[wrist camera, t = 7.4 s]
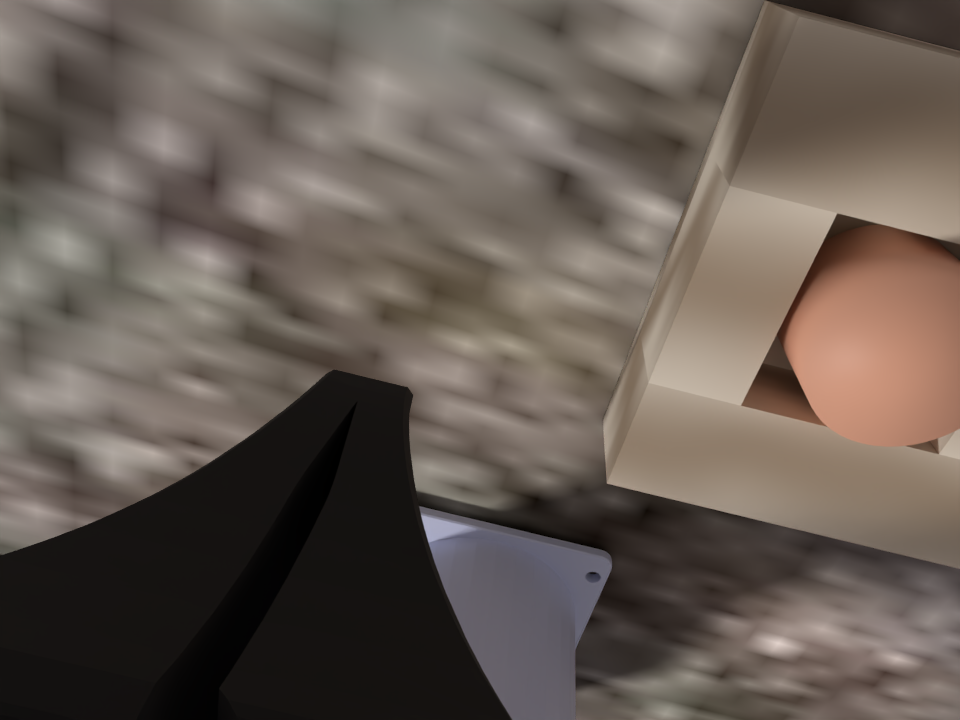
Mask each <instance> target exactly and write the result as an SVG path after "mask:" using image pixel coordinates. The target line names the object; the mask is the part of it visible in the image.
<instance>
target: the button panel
mask: <svg viewBox="0 0 960 720" xmlns="http://www.w3.org/2000/svg"><path fill="white" fill-rule="evenodd" d="M879 224H882V225H886V226H890V227H894V228H898V229H901V230H905V231H909V232H913V233H917V234H921V235H925V236H929V237H932V238H934V239H935V240H937V241H938V242H939V243H940V244H942V245H943V246H944V247H945V248H946V249H947V250H948V251H949V252H950V253H951V254H953V255H954V256H955V257H956V258H957V259H958V260H959V261H960V51H958V50H954V49H950V48H946V47H943V46H939V45H935V44H931V43H927V42H923V41H920V40H916V39H912V38H908V37H904V36H900V35H897V34H893V33H889V32H885V31H881V30H877V29H874V28H870V27H866V26H862V25H858V24H854V23H851V22H847V21H843V20H839V19H835V18H831V17H828V16H824V15H820V14H816V13H812V12H808V11H805V10H801V9H797V8H793V7H789V6H785V5H782V4H778V3H774V2H770V1H766V0H765V1H764V3H763V6H762V8H761V11H760V13H759V16H758V19H757V21H756V24H755V26H754V29H753V32H752V34H751V37H750V39H749V42H748V45H747V47H746V50H745V52H744V55H743V58H742V60H741V63H740V65H739V68H738V71H737V73H736V76H735V78H734V81H733V84H732V86H731V89H730V91H729V94H728V97H727V99H726V102H725V104H724V107H723V109H722V112H721V115H720V117H719V120H718V122H717V125H716V128H715V130H714V133H713V135H712V138H711V141H710V143H709V146H708V148H707V151H706V154H705V156H704V159H703V161H702V164H701V167H700V169H699V172H698V174H697V177H696V180H695V182H694V185H693V187H692V190H691V192H690V195H689V198H688V200H687V203H686V205H685V208H684V211H683V213H682V216H681V218H680V221H679V224H678V226H677V229H676V231H675V234H674V237H673V239H672V242H671V244H670V247H669V250H668V252H667V255H666V257H665V260H664V263H663V265H662V268H661V270H660V273H659V276H658V278H657V281H656V283H655V286H654V288H653V291H652V294H651V296H650V299H649V301H648V304H647V307H646V309H645V312H644V314H643V317H642V320H641V322H640V325H639V327H638V330H637V333H636V335H635V338H634V340H633V343H632V346H631V348H630V351H629V353H628V356H627V359H626V361H625V364H624V366H623V369H622V372H621V374H620V377H619V379H618V382H617V384H616V387H615V390H614V392H613V395H612V397H611V400H610V403H609V405H608V408H607V410H606V413H605V416H604V418H603V430H604V445H605V461H606V477H607V484H611V485H615V486H619V487H623V488H627V489H632V490H636V491H640V492H644V493H648V494H652V495H656V496H660V497H665V498H669V499H673V500H677V501H681V502H685V503H689V504H694V505H698V506H702V507H706V508H710V509H714V510H718V511H722V512H727V513H731V514H735V515H739V516H743V517H747V518H751V519H756V520H760V521H764V522H768V523H772V524H776V525H780V526H784V527H789V528H793V529H797V530H801V531H805V532H809V533H813V534H818V535H822V536H826V537H830V538H834V539H838V540H842V541H846V542H851V543H855V544H859V545H863V546H867V547H871V548H875V549H880V550H884V551H888V552H892V553H896V554H900V555H904V556H908V557H913V558H917V559H921V560H925V561H929V562H933V563H937V564H942V565H946V566H950V567H954V568H958V569H960V429H958V430H956V431H954V432H952V433H950V434H948V435H945V436H943V437H940V438H937V439H934V440H931V441H928V442H924V443H919V444H914V445H907V446H895V447H884V446H873V445H868V444H862V443H859V442H856V441H852V440H850V439H847V438H845V437H843V436H841V435H839V434H837V433H836V432H834V431H833V430H831V429H830V428H829V427H827V426H826V425H825V424H824V423H823V422H822V421H821V420H820V419H819V418H818V416H817V415H816V414H815V412H814V410H813V409H812V407H811V405H810V403H809V401H808V399H807V397H806V395H805V393H804V391H803V389H802V387H801V385H800V383H799V380H798V378H797V376H796V374H795V372H794V370H793V368H792V366H791V364H790V362H789V360H788V358H787V356H786V354H785V352H784V349H783V347H782V345H781V343H780V341H779V338H778V336H777V333H778V331H779V329H780V327H781V325H782V323H783V321H784V319H785V317H786V315H787V313H788V311H789V309H790V307H791V305H792V303H793V301H794V299H795V297H796V295H797V293H798V291H799V289H800V287H801V285H802V283H803V281H804V279H805V277H806V275H807V273H808V271H809V269H810V267H811V265H812V263H813V261H814V259H815V257H816V255H817V253H818V251H819V249H820V247H821V245H822V243H823V242H824V241H826V240H827V239H829V238H831V237H833V236H835V235H838V234H840V233H842V232H845V231H848V230H851V229H855V228H858V227H863V226H869V225H879Z"/></svg>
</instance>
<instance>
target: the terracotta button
mask: <svg viewBox="0 0 960 720" xmlns="http://www.w3.org/2000/svg"><path fill="white" fill-rule="evenodd" d="M777 336H778V338H779V341H780V343H781V345H782V347H783V349H784V352H785V354H786V356H787V358H788V360H789V362H790V364H791V366H792V368H793V370H794V372H795V374H796V376H797V378H798V380H799V383H800V385H801V387H802V389H803V391H804V393H805V395H806V397H807V399H808V401H809V403H810V405H811V407H812V409H813V410H814V412H815V414H816V415H817V416H818V418H819V419H820V420H821V421H822V422H823V423H824V424H825V425H826V426H827V427H829V428H830V429H831V430H833V431H834V432H836V433H837V434H839V435H841V436H843V437H845V438H847V439H850V440H852V441H856V442H859V443H862V444H868V445H873V446H884V447H895V446H907V445H914V444H919V443H924V442H928V441H931V440H934V439H937V438H940V437H943V436H945V435H948V434H950V433H952V432H954V431H956V430H958V429H960V261H959V260H958V259H957V258H956V257H955V256H954V255H953V254H951V253H950V252H949V251H948V250H947V249H946V248H945V247H944V246H943V245H942V244H940V243H939V242H938V241H937V240H935V239H934V238H932V237H929V236H925V235H921V234H917V233H913V232H909V231H905V230H901V229H898V228H894V227H890V226H886V225H882V224H879V225H869V226H863V227H858V228H855V229H851V230H848V231H845V232H842V233H840V234H838V235H835V236H833V237H831V238H829V239H827V240H826V241H824V242H823V243H822V245H821V247H820V249H819V251H818V253H817V255H816V257H815V259H814V261H813V263H812V265H811V267H810V269H809V271H808V273H807V275H806V277H805V279H804V281H803V283H802V285H801V287H800V289H799V291H798V293H797V295H796V297H795V299H794V301H793V303H792V305H791V307H790V309H789V311H788V313H787V315H786V317H785V319H784V321H783V323H782V325H781V327H780V329H779V331H778V333H777Z"/></svg>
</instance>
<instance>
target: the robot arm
mask: <svg viewBox="0 0 960 720" xmlns="http://www.w3.org/2000/svg"><path fill="white" fill-rule="evenodd" d="M412 398H413V394H412V393H411V391H410V390H409V388H408V387H404V386H400V385H396V384H392V383H387V382H383V381H379V380H375V379H371V378H367V377H363V376H359V375H355V374H350V373H346V372H342V371H338V370H332V371H331V372H329V373H327V374H326V375H325V376H323V377H322V378H321V379H320V380H319V381H318V382H317V383H316V384H315V385H313V386H312V387H311V388H310V389H309V390H308V391H307V392H305V393H304V394H303V395H302V396H301V397H300V398H298V399H297V400H296V401H295V402H293V403H292V404H291V405H290V406H289V407H287V408H286V409H285V410H284V411H282V412H281V413H280V414H278V415H277V416H276V417H274V418H273V419H272V420H270V421H269V422H268V423H267V424H265V425H264V426H263V427H261V428H260V429H259V430H257V431H256V432H255V433H253V434H252V435H250V436H249V437H248V438H246V439H245V440H243V441H242V442H240V443H239V444H237V445H236V446H234V447H233V448H231V449H230V450H228V451H227V452H225V453H224V454H222V455H221V456H219V457H218V458H216V459H215V460H213V461H212V462H210V463H208V464H207V465H205V466H203V467H202V468H200V469H198V470H197V471H195V472H194V473H192V474H190V475H188V476H187V477H185V478H183V479H181V480H180V481H178V482H176V483H174V484H172V485H170V486H168V487H167V488H165V489H163V490H161V491H159V492H157V493H155V494H153V495H151V496H149V497H147V498H145V499H143V500H141V501H139V502H137V503H135V504H133V505H131V506H128V507H126V508H124V509H122V510H120V511H117V512H115V513H113V514H111V515H108V516H106V517H104V518H102V519H100V520H97V521H95V522H93V523H90V524H88V525H85V526H83V527H80V528H77V529H75V530H72V531H70V532H67V533H64V534H62V535H59V536H57V537H54V538H51V539H48V540H45V541H43V542H40V543H37V544H34V545H31V546H28V547H25V548H23V549H20V550H17V551H13V552H10V553H7V554H4V555H1V556H0V720H576V685H575V649H576V647H577V645H578V642H579V640H580V638H581V636H582V634H583V631H584V629H585V627H586V625H587V623H588V620H589V618H590V616H591V614H592V612H593V609H594V607H595V605H596V603H597V601H598V598H599V596H600V594H601V592H602V590H603V587H604V585H605V583H606V581H607V579H608V576H609V574H610V572H611V570H612V559H611V556H610V555H609V554H608V553H607V552H606V551H603V550H600V549H596V548H592V547H588V546H584V545H579V544H575V543H571V542H567V541H563V540H559V539H554V538H550V537H546V536H542V535H538V534H534V533H529V532H525V531H521V530H517V529H513V528H508V527H504V526H500V525H496V524H492V523H488V522H483V521H479V520H475V519H471V518H467V517H463V516H458V515H454V514H450V513H446V512H442V511H437V510H433V509H429V508H425V507H421V506H419V503H418V499H417V494H416V488H415V483H414V477H413V469H412V461H411V454H410V442H409V412H410V408H411V403H412ZM589 572H596V574H590V573H589Z"/></svg>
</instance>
